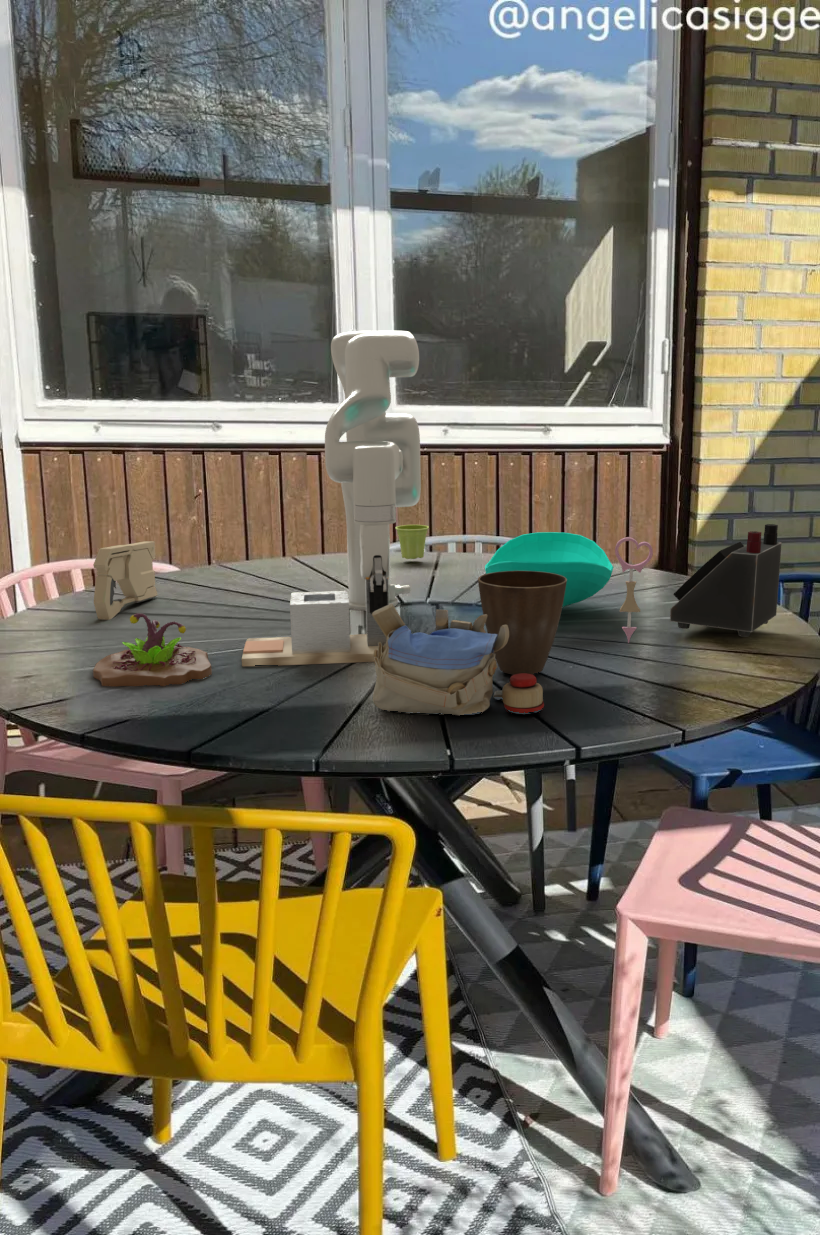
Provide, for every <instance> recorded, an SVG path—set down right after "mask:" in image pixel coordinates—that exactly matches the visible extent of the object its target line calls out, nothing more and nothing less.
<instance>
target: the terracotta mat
mask: <svg viewBox="0 0 820 1235" xmlns="http://www.w3.org/2000/svg"><path fill="white" fill-rule="evenodd" d="M283 645H284V640H266V641H247V640H246V641H245V642H244V648H243V650H242V651H243V652H242V654H243V653H267V652H283Z"/></svg>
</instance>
